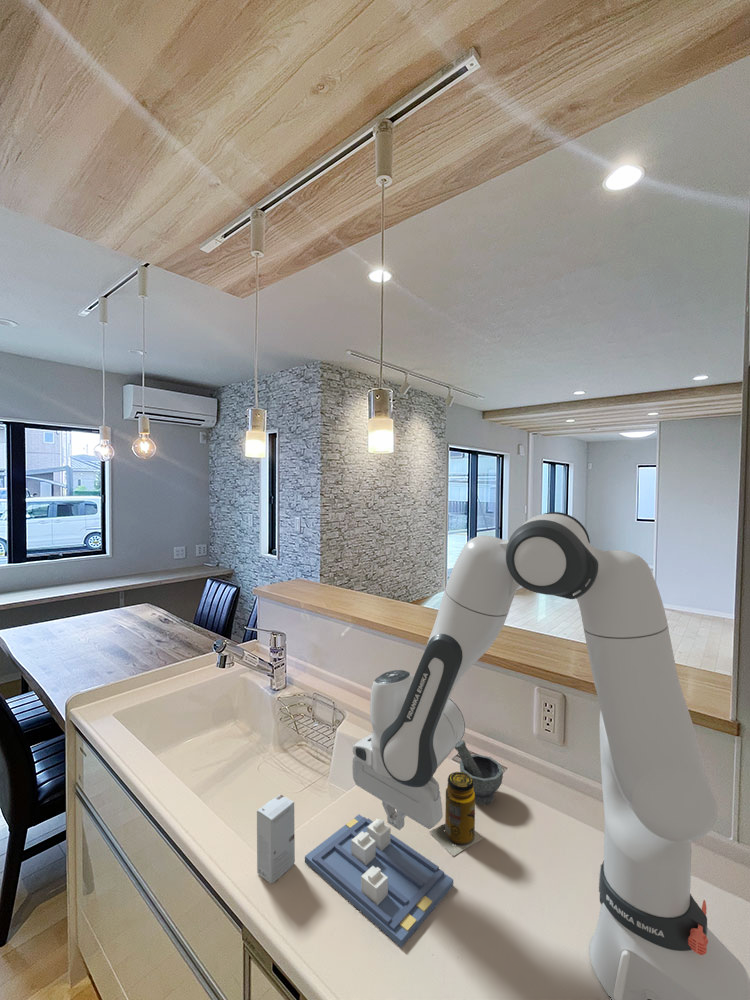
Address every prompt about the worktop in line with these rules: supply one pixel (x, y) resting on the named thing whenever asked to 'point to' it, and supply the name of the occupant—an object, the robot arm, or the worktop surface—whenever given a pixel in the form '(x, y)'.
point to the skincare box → (275, 838)
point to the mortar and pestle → (480, 773)
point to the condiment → (458, 815)
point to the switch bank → (408, 876)
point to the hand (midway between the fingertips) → (395, 825)
